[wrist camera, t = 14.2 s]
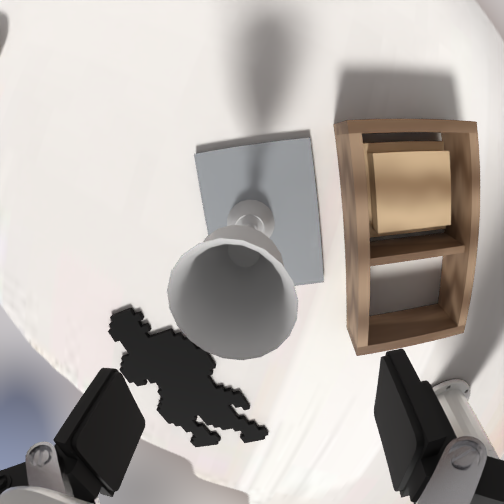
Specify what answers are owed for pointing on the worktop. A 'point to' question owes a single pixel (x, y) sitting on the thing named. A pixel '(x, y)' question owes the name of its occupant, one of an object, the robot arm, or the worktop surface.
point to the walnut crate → (409, 238)
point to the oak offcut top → (409, 189)
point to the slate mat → (269, 197)
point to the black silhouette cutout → (180, 380)
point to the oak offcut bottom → (397, 147)
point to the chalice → (235, 288)
